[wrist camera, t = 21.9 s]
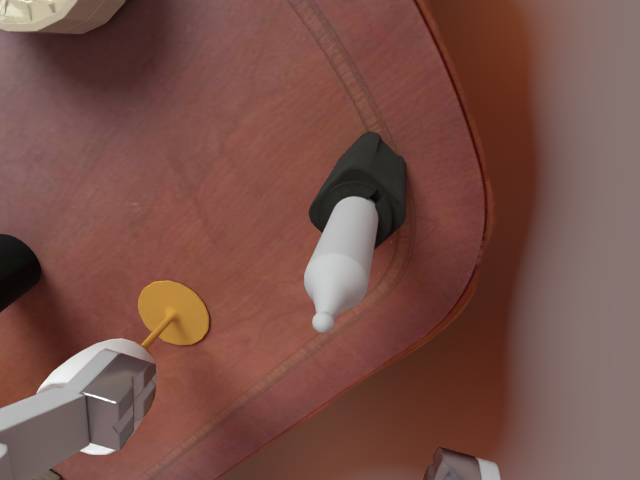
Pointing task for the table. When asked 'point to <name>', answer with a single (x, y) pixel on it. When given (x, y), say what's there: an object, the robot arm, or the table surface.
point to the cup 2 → (163, 321)
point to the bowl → (56, 15)
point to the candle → (353, 225)
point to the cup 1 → (16, 270)
